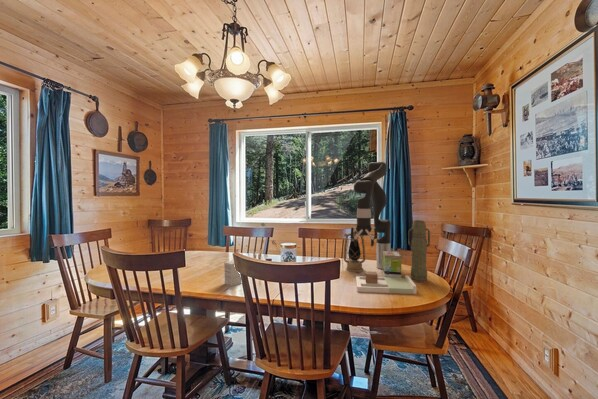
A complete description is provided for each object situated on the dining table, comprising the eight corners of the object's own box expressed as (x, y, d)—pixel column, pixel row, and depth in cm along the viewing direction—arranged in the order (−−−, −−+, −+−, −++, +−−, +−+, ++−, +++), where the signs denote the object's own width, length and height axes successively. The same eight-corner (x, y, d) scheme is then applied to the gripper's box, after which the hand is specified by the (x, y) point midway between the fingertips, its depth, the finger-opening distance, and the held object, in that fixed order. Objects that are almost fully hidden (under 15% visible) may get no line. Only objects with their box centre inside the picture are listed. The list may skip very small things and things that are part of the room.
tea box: (401, 280, 174) (401, 255, 173) (384, 280, 176) (384, 255, 175) (398, 274, 188) (398, 250, 188) (382, 273, 190) (382, 250, 190)
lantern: (344, 271, 195) (344, 226, 194) (343, 267, 207) (342, 224, 206) (366, 272, 194) (366, 226, 193) (364, 267, 206) (364, 224, 205)
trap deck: (355, 280, 175) (355, 273, 174) (408, 282, 170) (408, 275, 170) (357, 291, 155) (357, 283, 155) (416, 294, 150) (416, 286, 150)
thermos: (406, 277, 181) (406, 220, 181) (427, 277, 179) (427, 220, 179) (410, 281, 172) (410, 221, 172) (431, 282, 170) (431, 221, 170)
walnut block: (365, 280, 167) (365, 271, 167) (376, 280, 166) (376, 271, 166) (366, 283, 161) (366, 274, 161) (377, 283, 160) (377, 274, 160)
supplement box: (235, 281, 176) (235, 259, 175) (242, 283, 170) (242, 261, 170) (224, 283, 170) (223, 261, 170) (231, 286, 165) (230, 263, 165)
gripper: (376, 216, 166) (376, 245, 166) (350, 216, 168) (350, 245, 168) (377, 217, 158) (377, 247, 158) (351, 217, 160) (351, 247, 160)
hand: (363, 246), depth 163 cm, fingers open, 8 cm apart
